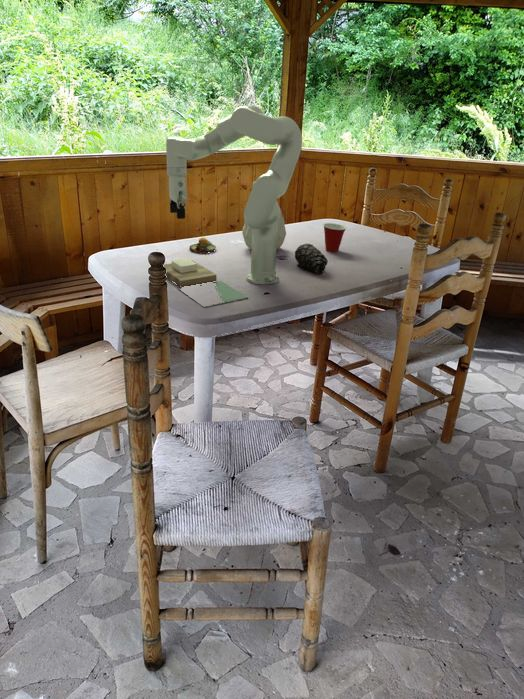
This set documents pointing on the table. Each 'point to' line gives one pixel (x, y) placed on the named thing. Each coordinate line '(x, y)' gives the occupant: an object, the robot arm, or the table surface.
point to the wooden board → (190, 275)
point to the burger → (203, 246)
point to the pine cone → (310, 259)
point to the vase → (280, 233)
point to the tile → (184, 265)
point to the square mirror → (228, 292)
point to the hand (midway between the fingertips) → (177, 215)
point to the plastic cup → (333, 236)
